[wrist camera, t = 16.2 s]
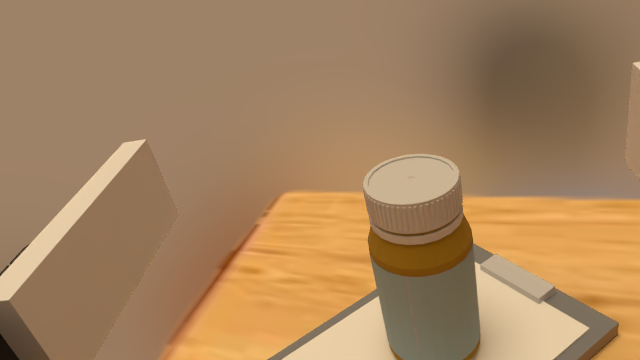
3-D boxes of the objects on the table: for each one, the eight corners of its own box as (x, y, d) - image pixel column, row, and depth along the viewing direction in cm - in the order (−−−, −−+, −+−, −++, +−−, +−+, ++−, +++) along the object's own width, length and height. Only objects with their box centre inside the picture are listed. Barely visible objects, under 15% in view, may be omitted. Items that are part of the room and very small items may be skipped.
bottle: (483, 311, 43) (470, 148, 35) (478, 384, 37) (461, 209, 30) (398, 305, 45) (369, 152, 38) (381, 373, 40) (343, 209, 32)
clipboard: (460, 245, 52) (458, 229, 51) (617, 334, 40) (619, 315, 39) (269, 370, 44) (263, 354, 43) (394, 533, 31) (389, 515, 30)
